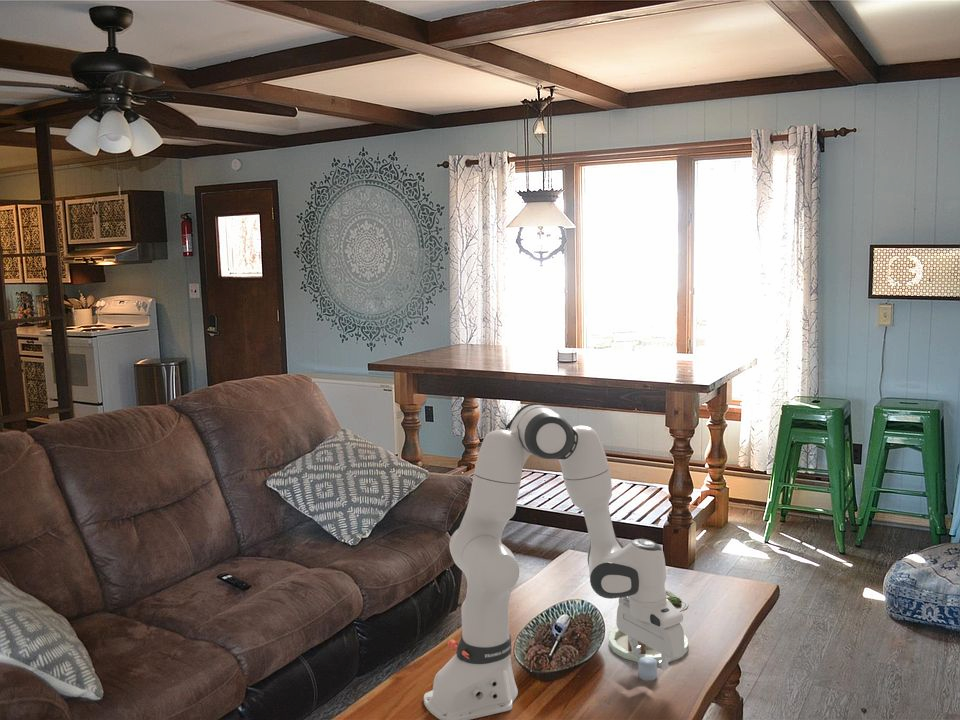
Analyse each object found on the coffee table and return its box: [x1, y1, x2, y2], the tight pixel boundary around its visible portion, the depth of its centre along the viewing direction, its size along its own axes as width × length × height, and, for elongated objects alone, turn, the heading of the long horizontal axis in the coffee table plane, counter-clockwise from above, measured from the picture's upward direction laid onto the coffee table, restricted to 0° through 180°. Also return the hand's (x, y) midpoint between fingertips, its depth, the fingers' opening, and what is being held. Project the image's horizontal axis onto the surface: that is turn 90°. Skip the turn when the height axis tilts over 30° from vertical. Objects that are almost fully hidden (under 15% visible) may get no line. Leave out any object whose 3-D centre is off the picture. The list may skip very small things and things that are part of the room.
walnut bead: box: [628, 640, 646, 654], centre depth 216 cm, size 4×4×5 cm
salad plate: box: [628, 589, 689, 613], centre depth 247 cm, size 19×18×5 cm
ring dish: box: [608, 626, 689, 664], centre depth 220 cm, size 20×20×4 cm
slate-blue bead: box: [637, 657, 658, 682], centre depth 204 cm, size 4×4×5 cm
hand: (649, 660), depth 205 cm, fingers open, 8 cm apart
